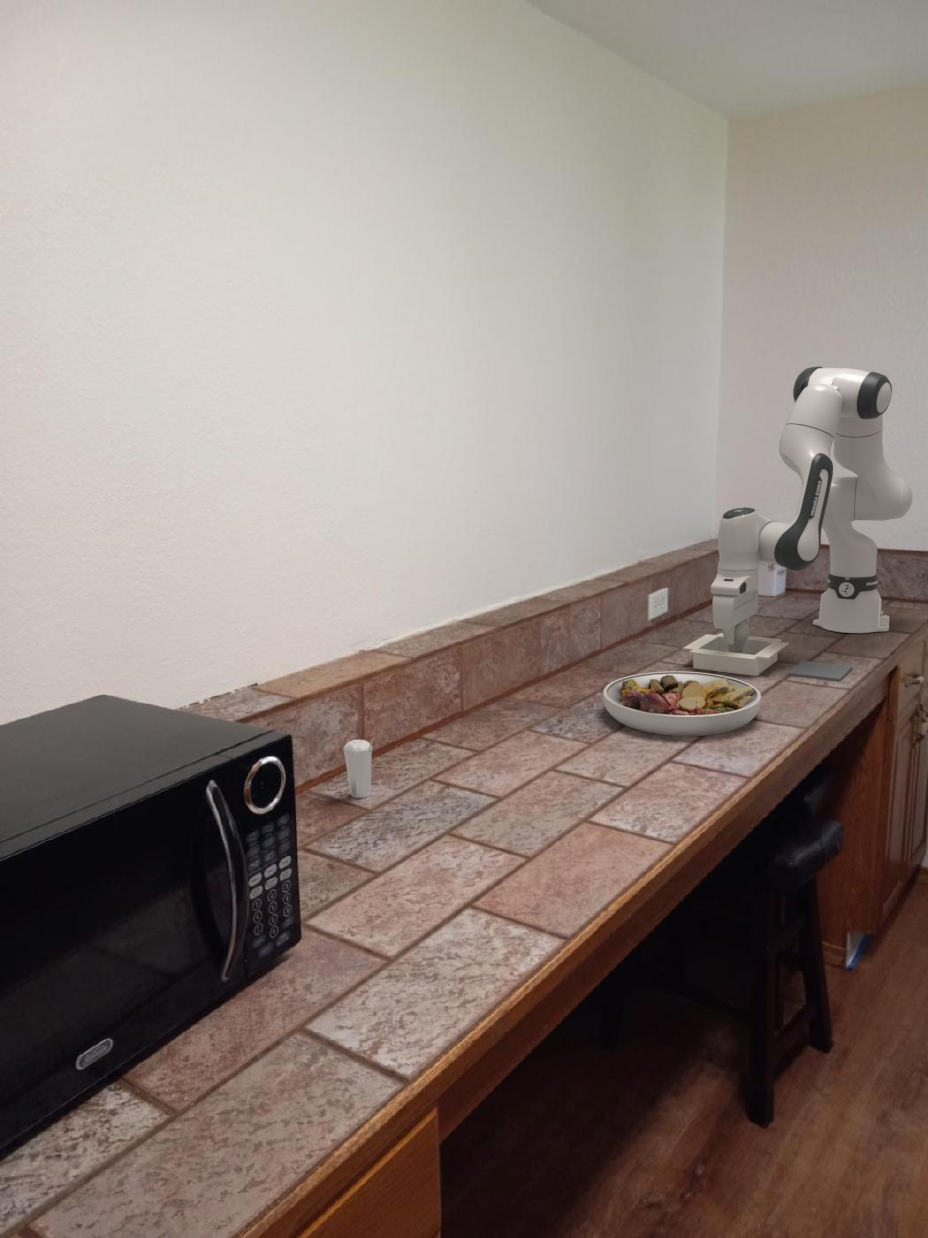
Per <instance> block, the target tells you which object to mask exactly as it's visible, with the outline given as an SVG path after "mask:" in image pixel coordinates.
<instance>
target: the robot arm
mask: <svg viewBox="0 0 928 1238" xmlns="http://www.w3.org/2000/svg"><path fill="white" fill-rule="evenodd" d="M892 387H893V386H892V383H891V381H890V379H889V378H888V377H887V375H884V374H882V373H879V372H876V371H870V372H869V371H866V370H863V369H856V368H851V367H850V368H849V367H844V368H842V367H822V366H811V367H806V368H805V369H804V370H802V372H801V373H800V374H798V376H797V378H796V379H795V381H794V385H793V389H792V390H793V391H792V395H793V396H792V397H793V401H794V404H793V405H792V409H791V411H790V412H789V415H788V417H787V419H786V422H785V424H784V427H783V430H782V433H781V435H780V439H779V445H778V451H779V452H778V453H779V456H780V458H781V459H782V461H783V462H784V464H785V465H786V466H787V467H788V468H789V469H791V470H792V471H794V472H795V473H797V475H798V476H799V478H800V481H801V489H800V493H799V494H800V495H799V498H798V503H797V508H796V512H795V516H794V519H793V520H792V521H791V522H790V523H789V522H782V521H778V520H773V519H771V518H768V517H765V516H764V515H762V514H760V513H759V512H758V511H757V510H756V509H755V508H752V507H738V508H737V507H736V508H733V509H729V510H727V511H725V512H724V513H723V514H722V516H721V518H720V522H719V527H718V536H717V537H718V538H717V551H718V555H719V561H718V564H717V574H716V576H715V578H714V580H713V582H712V583H711V584H710V593H711V594H713V596H712V621H713V626H714V627H715V628H716V629H719V630H722V629H724V632H725V635H726V643H727V644H731V645H732V644H734V643H735V642H736V636H735V634H734V630H735V625H737V624H739V623H740V622H742V621H744V620H745V621H746V622H747V623H748V624H749V622H750V617H752V616H754V615H755V614H757V613H758V610H759V586H758V585H759V582H758V581H759V563H760V562H762V563H766V564H770V565H776V566H780V567H783V568H784V569H785V568H786V569H788V570H791V571H795V572H799V571H803V570H804V571H805V569H807V568H809V567H810V566H811V565H812V564H813V563H814V562H815V561H816V559H817V558H818V556H819V554H820V550H821V545H822V544H821V543H822V542H821V541H822V529H823V531H824V533H825V535H826V539H828V546H829V563H830V564H829V565H830V566H829V572H828V573H827V580H826V581H827V587H828V588H827V590H825V591H824V592H822V593H821V595H820V603H819V604H820V605H819V606H820V607H819V613H818V614H819V615H818V616H819V617H818V618H815V619H813V621H812V624H813V625H815V626H818V627H820V628H822V629H825V630H827V631H830V632H831V631H832V632H837V633H845V634H846V633H847V634H868V633H875V632H876V633H877V632H889V631H890V616H889V615H888V614H887V615H886V614H885V611H884V610H882V598H881V595H880V592H879V591H878V587H879V584H878V583H879V579H878V572H877V562H878V561H877V559H878V556H877V555H878V547H877V544H876V542H875V540H873V539H872V538H871V537H869V536H867V535H865V534H864V533H861V532H859V531H858V530H856V529H855V528H854V527H853V522H854V521H877V522H879V521H880V522H881V521H882V522H883V521H890V520H891V521H892V520H895V519H902V518H903V517H904V516H905V515H907V514H908V512H909V510H910V509H911V507H912V503H913V491H912V488H911V486H910V485H909V484H908V483H907V481H906V480H905V479H904V478H901V477H900V476H898V475H897V474H896V473H895V472H894V471H893V470H892V469H891V468H890V467H889V465H888V463H887V462H886V459H885V456H884V447H883V444H884V443H883V421H884V420H883V414H884V413H886V411H887V409H888V408H889V406H890V402H891V400H892V395H893V388H892ZM832 446H833V457H834V460H835V461H836V462H837V464H838V465H839V466H840V467H842V468H843V469H845V470H848V471H850V472H851V473H852V472H853V473H854V474H855V475H856V476H833V475H834V465H833V461H832V460H831V449H832Z"/></svg>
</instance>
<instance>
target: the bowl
mask: <svg viewBox="0 0 928 1238" xmlns="http://www.w3.org/2000/svg"><path fill="white" fill-rule="evenodd" d="M602 698H603V704H604V707H605V709H606V710H607V712H608V713H609V715H611V716H612V718H614V719H615V720H616V721H618V722H619V723H621V724H622V725H624V726H627V727H628V728H631V729H634V730H637V731H641V732H645V733H649V734H656V735H661V736H670V737H705V736H712V735H713V736H714V735H720V734H724V733H728V732H732V731H734V730H738V729H740V728H742V727H744V726H745V725H747V724H749V723H750V722H751V721H752V720H753V719H754V718H755V717H756V716H757V714H758V713H759V711H760V708H761V704H762V694H761V692H760V690H759V689H758V688H756V687H755V686H754V685H752V684H750V683H749V682H746V681H744V680H740V679H737V678H734V677H731V676H726V675H721V674H714V673H707V672H697V671H684V670H683V671H681V670H678V671H674V670H673V671H672V670H670V671H655V672H654V671H653V672H652V671H651V672H645V673H638V674H632V675H629V676H625V677H621V678H617V679H615V680H613V681H610V683H608V684H606V686H605V687H604V688H603V691H602Z"/></svg>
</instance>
